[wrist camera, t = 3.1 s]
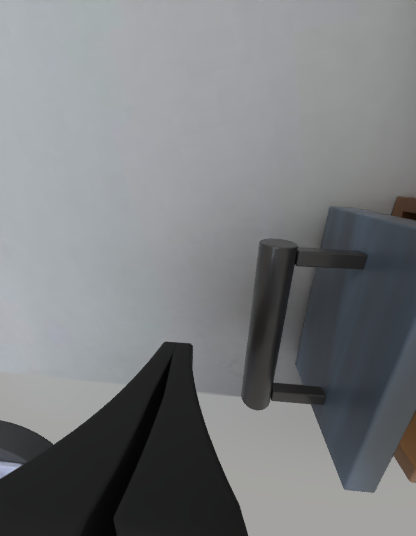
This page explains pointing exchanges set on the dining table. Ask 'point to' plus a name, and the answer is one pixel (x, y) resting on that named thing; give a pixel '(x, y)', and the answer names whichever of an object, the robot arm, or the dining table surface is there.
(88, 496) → the robot arm
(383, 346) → the drawer
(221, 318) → the dining table surface
